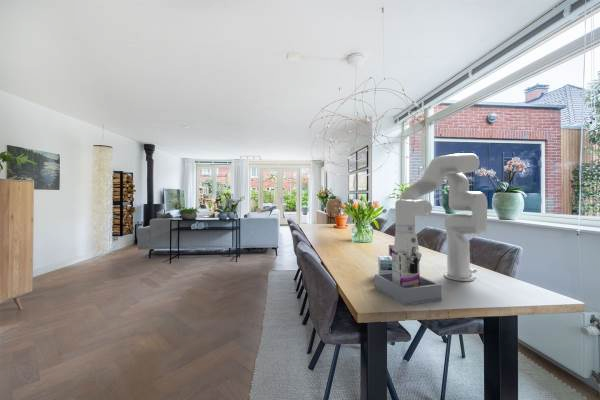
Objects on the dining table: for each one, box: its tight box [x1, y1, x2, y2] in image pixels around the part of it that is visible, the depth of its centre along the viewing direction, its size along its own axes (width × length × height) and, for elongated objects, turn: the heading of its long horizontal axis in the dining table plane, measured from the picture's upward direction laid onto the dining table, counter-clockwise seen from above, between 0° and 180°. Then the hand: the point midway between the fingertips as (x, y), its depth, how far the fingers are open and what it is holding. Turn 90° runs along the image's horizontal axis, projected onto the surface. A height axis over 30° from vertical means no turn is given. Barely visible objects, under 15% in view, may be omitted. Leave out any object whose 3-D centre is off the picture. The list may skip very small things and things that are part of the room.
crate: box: [374, 273, 443, 306], centre depth 107 cm, size 17×20×6 cm
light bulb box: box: [377, 254, 392, 274], centre depth 126 cm, size 11×7×11 cm, turn 168°
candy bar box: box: [392, 252, 421, 288], centre depth 107 cm, size 11×5×16 cm, turn 115°
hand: (405, 270), depth 107 cm, fingers open, 9 cm apart
